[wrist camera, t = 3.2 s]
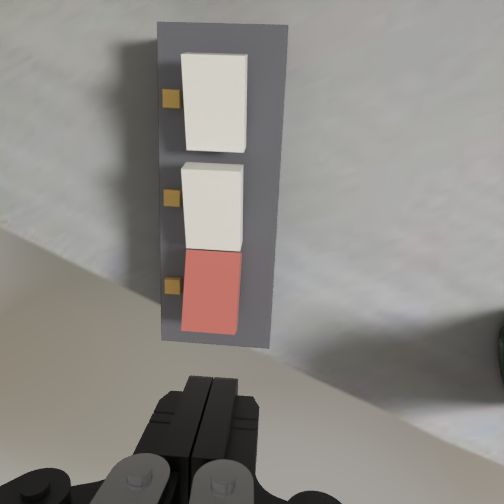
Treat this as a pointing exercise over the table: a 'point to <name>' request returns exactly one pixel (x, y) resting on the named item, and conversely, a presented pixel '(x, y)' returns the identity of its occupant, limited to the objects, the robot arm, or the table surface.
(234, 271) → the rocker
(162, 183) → the switch panel
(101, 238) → the table surface
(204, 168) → the block
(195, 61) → the rocker
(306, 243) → the table surface
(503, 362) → the coffee jar
